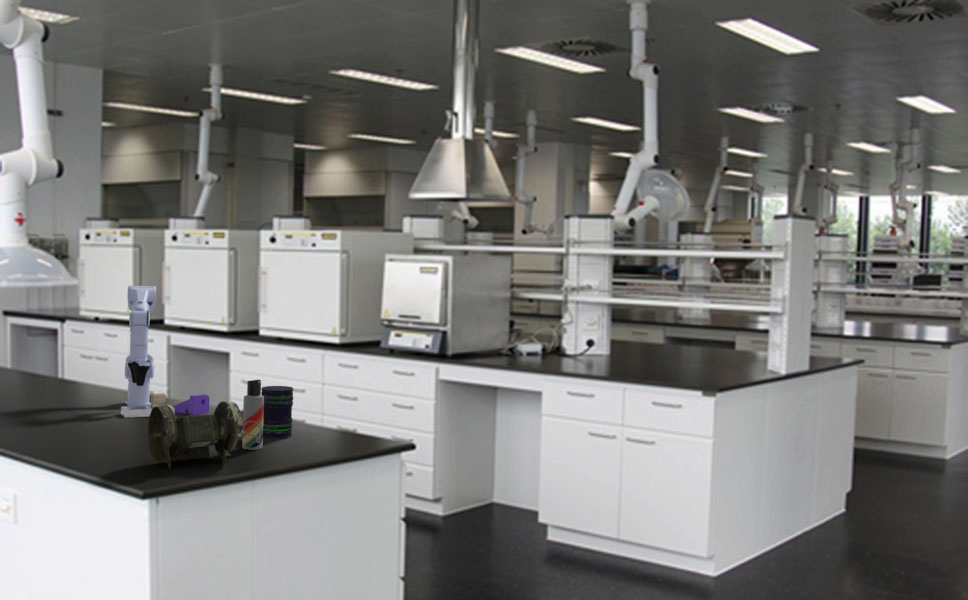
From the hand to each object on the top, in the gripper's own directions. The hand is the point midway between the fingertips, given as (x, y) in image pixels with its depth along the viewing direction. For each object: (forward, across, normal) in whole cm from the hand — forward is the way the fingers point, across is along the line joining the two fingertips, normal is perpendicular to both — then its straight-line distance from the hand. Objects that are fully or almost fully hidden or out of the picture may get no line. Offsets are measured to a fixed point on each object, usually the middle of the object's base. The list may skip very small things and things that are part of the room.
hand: (138, 384), depth 327 cm
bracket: (+10, +6, +16) cm, 20 cm away
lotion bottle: (+10, +74, +19) cm, 77 cm away
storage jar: (+10, +58, +31) cm, 66 cm away
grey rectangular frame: (+9, +8, +2) cm, 13 cm away
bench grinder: (+10, +87, -1) cm, 88 cm away
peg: (+10, +8, +5) cm, 14 cm away
